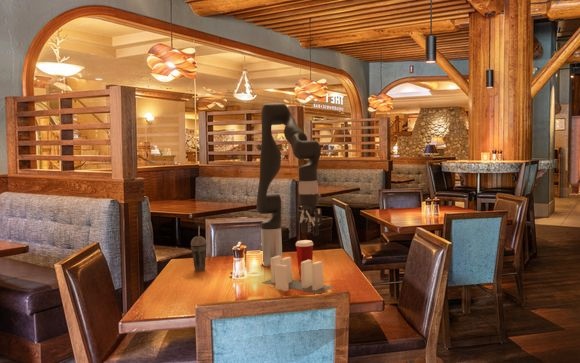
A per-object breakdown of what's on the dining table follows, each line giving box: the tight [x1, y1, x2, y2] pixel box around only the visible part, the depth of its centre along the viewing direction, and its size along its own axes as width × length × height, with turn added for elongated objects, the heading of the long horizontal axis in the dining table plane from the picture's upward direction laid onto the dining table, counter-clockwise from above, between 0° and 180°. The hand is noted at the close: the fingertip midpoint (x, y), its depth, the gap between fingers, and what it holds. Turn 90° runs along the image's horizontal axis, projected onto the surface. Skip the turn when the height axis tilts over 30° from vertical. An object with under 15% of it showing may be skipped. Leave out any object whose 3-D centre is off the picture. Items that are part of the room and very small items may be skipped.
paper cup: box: [295, 239, 314, 275], centre depth 218 cm, size 8×8×14 cm
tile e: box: [312, 260, 324, 290], centre depth 194 cm, size 2×5×10 cm, turn 143°
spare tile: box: [275, 264, 290, 292], centre depth 194 cm, size 2×5×10 cm, turn 53°
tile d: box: [300, 259, 313, 288], centre depth 197 cm, size 2×5×10 cm, turn 143°
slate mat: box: [261, 279, 334, 294], centre depth 200 cm, size 28×10×1 cm, turn 53°
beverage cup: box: [190, 225, 208, 272], centre depth 231 cm, size 7×7×20 cm
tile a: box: [270, 256, 281, 283], centre depth 206 cm, size 2×5×10 cm, turn 143°
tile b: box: [280, 256, 293, 283], centre depth 203 cm, size 2×5×10 cm, turn 143°
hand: (309, 233), depth 199 cm, fingers open, 8 cm apart
